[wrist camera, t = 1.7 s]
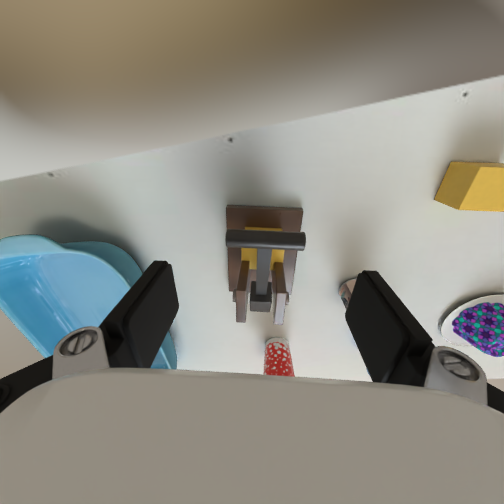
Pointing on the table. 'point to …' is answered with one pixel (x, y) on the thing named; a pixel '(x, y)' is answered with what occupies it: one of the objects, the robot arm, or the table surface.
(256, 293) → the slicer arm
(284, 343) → the beverage cup
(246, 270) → the slicer
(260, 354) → the table surface
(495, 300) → the pudding
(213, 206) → the table surface
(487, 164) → the butter pat
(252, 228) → the butter
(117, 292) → the casserole dish
